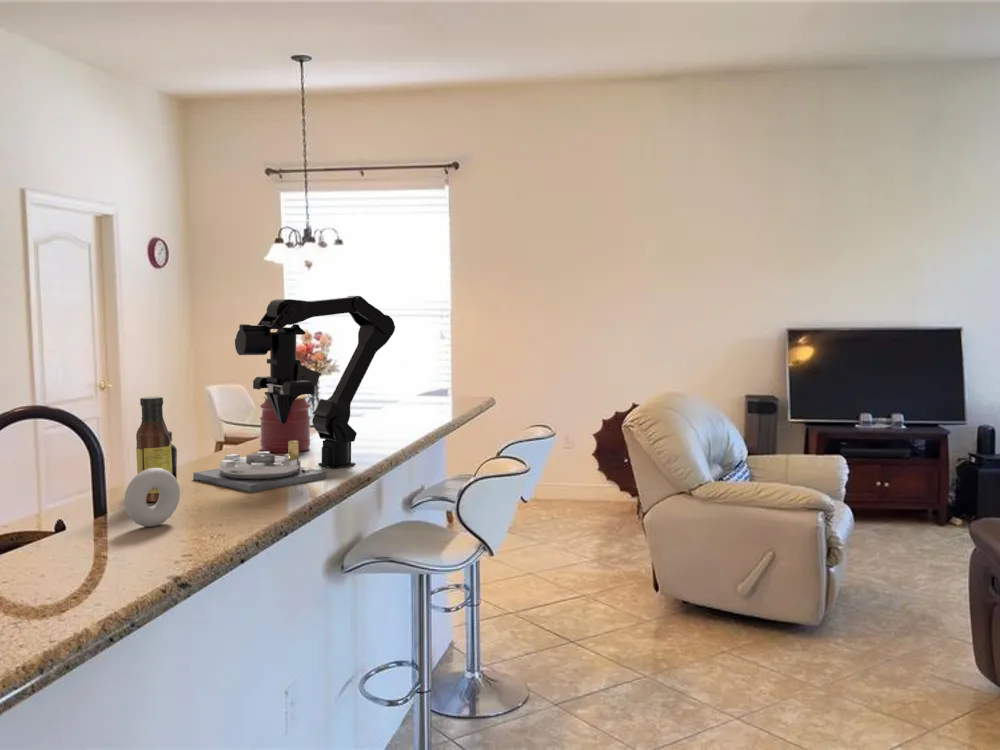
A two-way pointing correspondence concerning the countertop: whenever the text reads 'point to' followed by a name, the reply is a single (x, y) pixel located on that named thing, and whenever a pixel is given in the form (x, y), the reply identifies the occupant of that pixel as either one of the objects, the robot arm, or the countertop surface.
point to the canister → (285, 427)
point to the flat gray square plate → (259, 480)
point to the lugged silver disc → (262, 464)
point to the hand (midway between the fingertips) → (283, 423)
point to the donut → (139, 491)
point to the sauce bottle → (153, 441)
